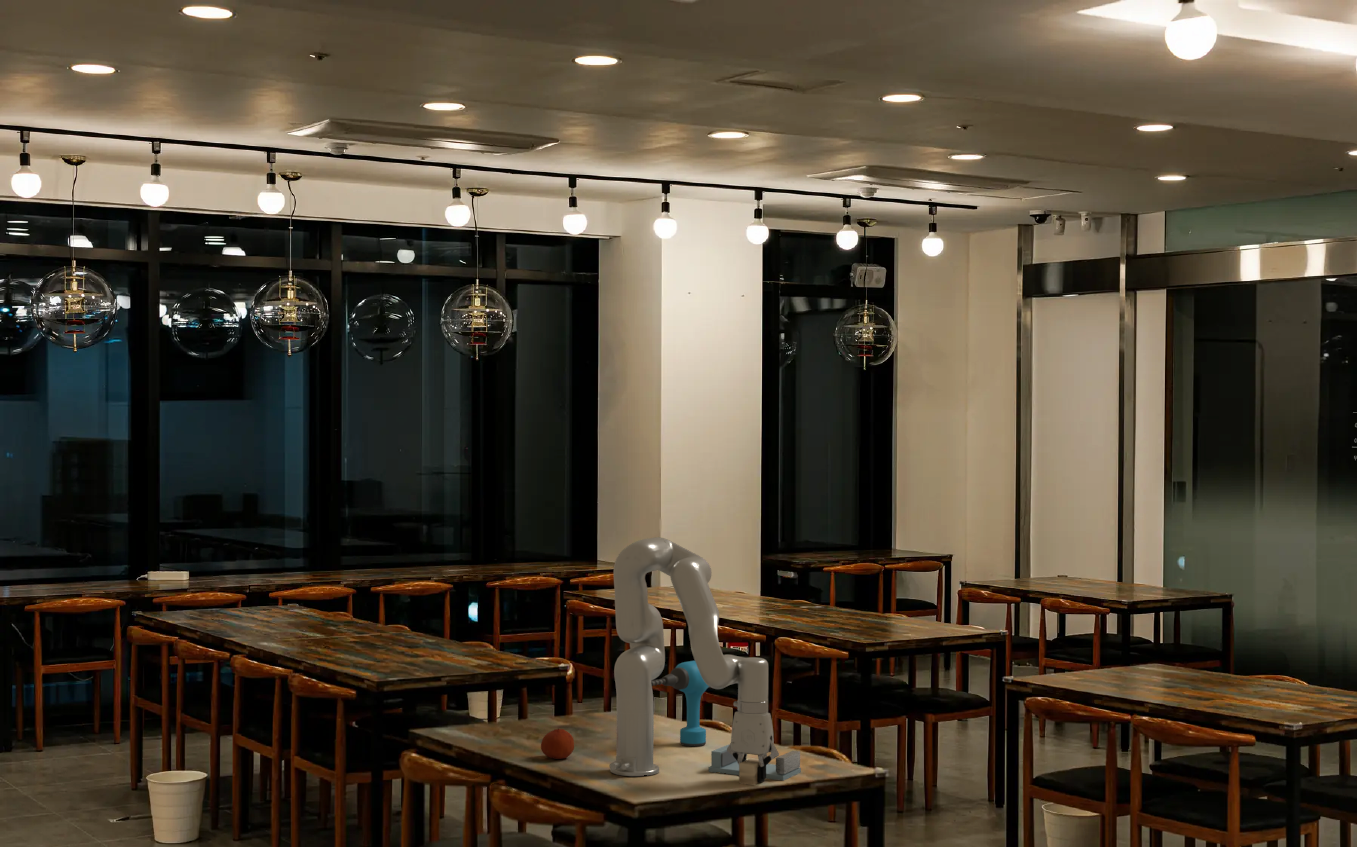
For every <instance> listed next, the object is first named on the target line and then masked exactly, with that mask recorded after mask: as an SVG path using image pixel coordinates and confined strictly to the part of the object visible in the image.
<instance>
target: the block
mask: <svg viewBox="0 0 1357 847" xmlns="http://www.w3.org/2000/svg"><path fill="white" fill-rule="evenodd" d="M758 767H759V759H758V758H753V757H752V758H749V759H748V758H747V759H746V761H744V762H741V763H739V775H738V776H739V778H738V780H739V784H741V785H742V784H743V785H749V786H750V785H751V786H754V785H755V786H756V785H757V784H759V783H758V782H757V768H758ZM765 781H766V778H765Z"/></svg>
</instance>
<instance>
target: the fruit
mask: <svg viewBox="0 0 1357 847" xmlns="http://www.w3.org/2000/svg"><path fill="white" fill-rule="evenodd" d="M574 749H575V740H574V737H573V735H572V734H571V733H570V732H569V731H567V730H565V729H563V728H556V729H555V728H554V729H553V730H551V731H549V732H547V733H545V735H544V736H543V738H542V739H541V743H540V750H541V752H542V753H543V754H544V756H546V757H547V758H549V759H554V760H555V759H557V760H562V759H563V760H565V759H566V758H568V757H570V756H571V755H572V753H573V752H574Z"/></svg>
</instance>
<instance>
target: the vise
mask: <svg viewBox="0 0 1357 847" xmlns="http://www.w3.org/2000/svg"><path fill="white" fill-rule="evenodd" d="M729 745H730V744H726V745H724V746H721V747H719V748H716V749H713V750H711V756H710V757H711V758H710V760H711V762H710V763H711V765H710V766H708V772H709V773H716V772H720V773H719V774H724V773H726V775H727V774H728V775H734V776H739V764H738V763H737V760H736V759H735V758H734V757H733V755H732V754H730V753H729V752H728V751H727V748H728V746H729ZM801 771H802V768H801V767H799V768H797V769H795V770H792V771H790V772H788V773H786V774H777V772H776V764H773V763H772V764H771V763H768V765H766V779H767V780H773V781H776V780H777V781H783V782H784V781H786V780H788V779H789V778H792V777H795V776H796V775H798V774H801V773H802V772H801Z"/></svg>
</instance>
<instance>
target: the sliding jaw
mask: <svg viewBox="0 0 1357 847" xmlns="http://www.w3.org/2000/svg"><path fill="white" fill-rule="evenodd" d="M775 765H776V772H777V774H786V773H788V772H790V771H792V770H795V769H797V768H801V751H799V750H791V751H788V752H786V753H784V754H782V755H779V756H777V757H775Z"/></svg>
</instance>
